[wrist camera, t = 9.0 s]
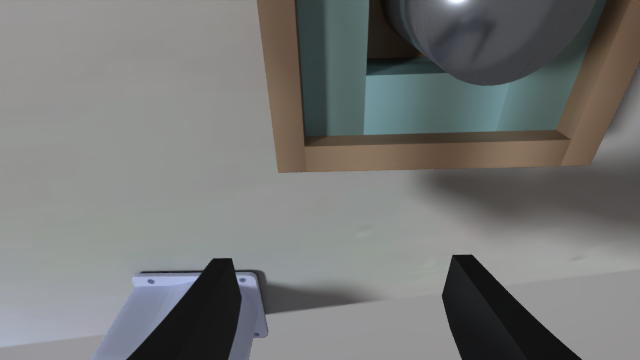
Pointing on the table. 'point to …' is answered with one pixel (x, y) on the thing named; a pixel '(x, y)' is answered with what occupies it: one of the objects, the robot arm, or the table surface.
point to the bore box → (432, 94)
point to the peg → (488, 34)
